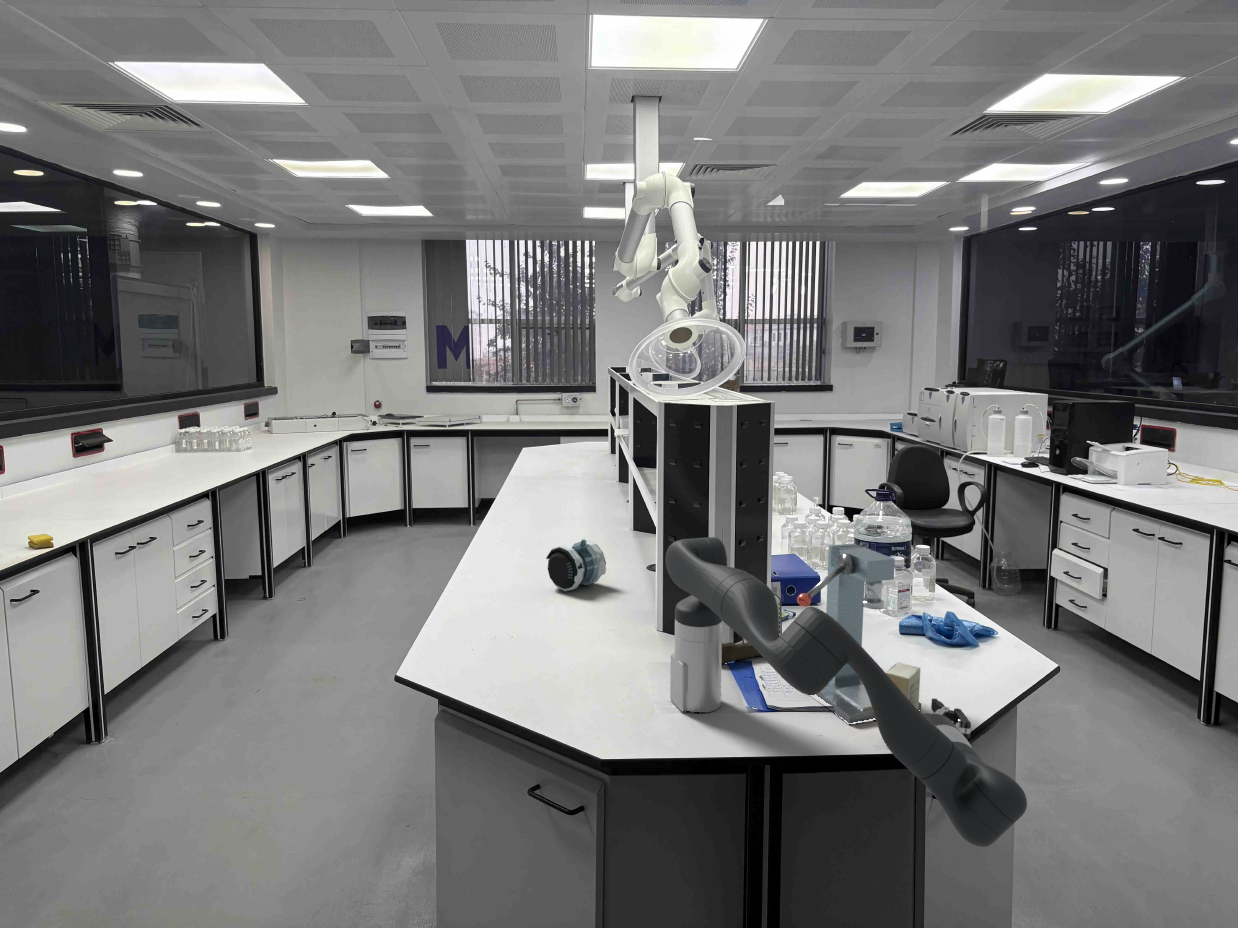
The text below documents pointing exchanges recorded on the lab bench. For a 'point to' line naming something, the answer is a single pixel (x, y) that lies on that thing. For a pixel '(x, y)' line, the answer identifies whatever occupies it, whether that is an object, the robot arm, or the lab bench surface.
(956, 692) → the lab bench surface
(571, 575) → the gadget
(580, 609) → the lab bench surface
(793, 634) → the robot arm
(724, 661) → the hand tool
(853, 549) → the arbor press
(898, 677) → the skincare box
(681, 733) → the lab bench surface
